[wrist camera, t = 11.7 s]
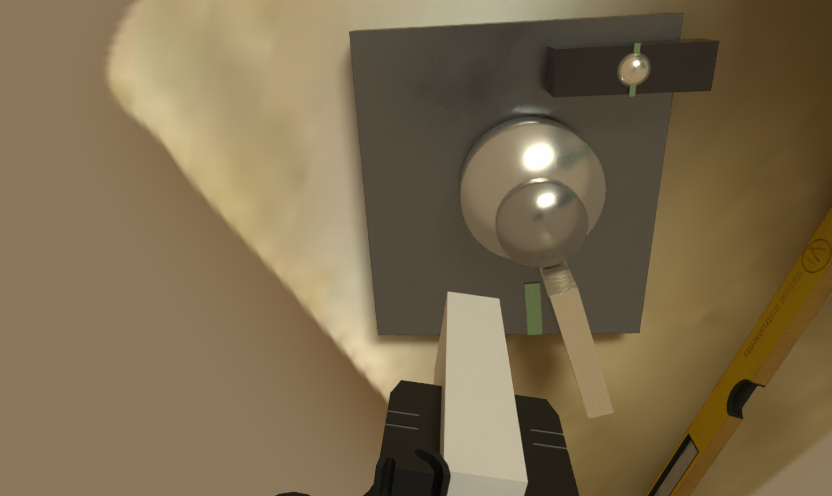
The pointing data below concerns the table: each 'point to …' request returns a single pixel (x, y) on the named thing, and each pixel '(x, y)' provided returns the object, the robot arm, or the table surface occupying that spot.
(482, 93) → the stand
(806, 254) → the spirit level
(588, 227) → the silver ladle
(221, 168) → the table surface
